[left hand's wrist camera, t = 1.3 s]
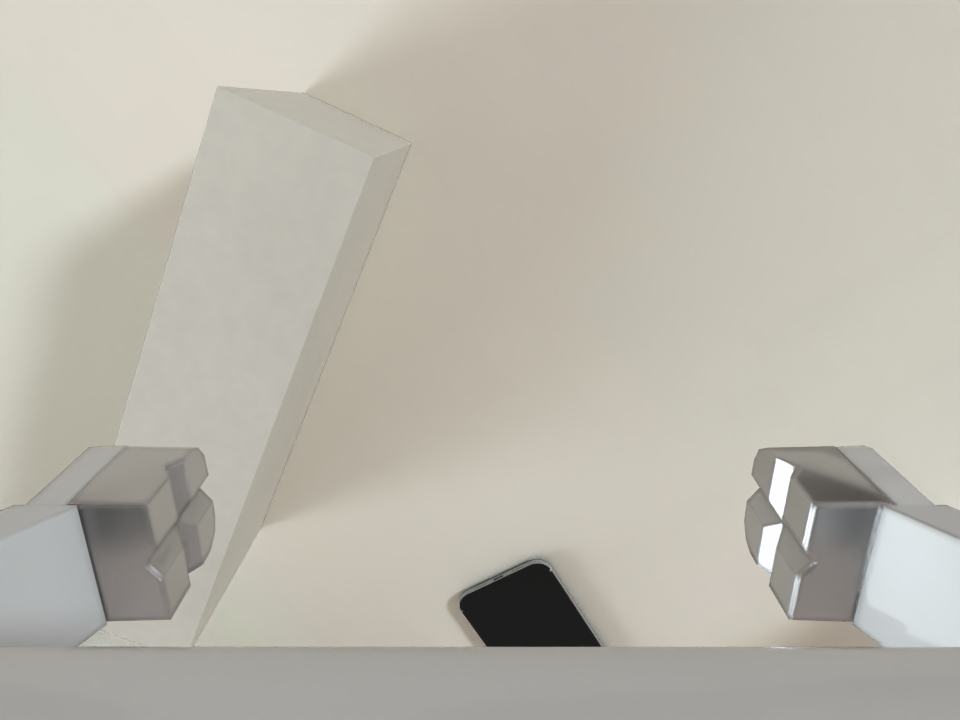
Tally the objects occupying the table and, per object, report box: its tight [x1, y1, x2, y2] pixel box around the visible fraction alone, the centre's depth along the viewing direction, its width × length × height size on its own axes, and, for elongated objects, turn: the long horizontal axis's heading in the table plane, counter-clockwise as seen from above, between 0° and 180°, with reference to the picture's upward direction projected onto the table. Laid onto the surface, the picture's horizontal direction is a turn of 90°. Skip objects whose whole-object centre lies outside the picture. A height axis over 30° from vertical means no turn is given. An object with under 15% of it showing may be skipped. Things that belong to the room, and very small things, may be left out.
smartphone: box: [460, 559, 604, 647], centre depth 50 cm, size 7×1×15 cm
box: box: [100, 86, 411, 647], centre depth 37 cm, size 28×6×12 cm, turn 156°
